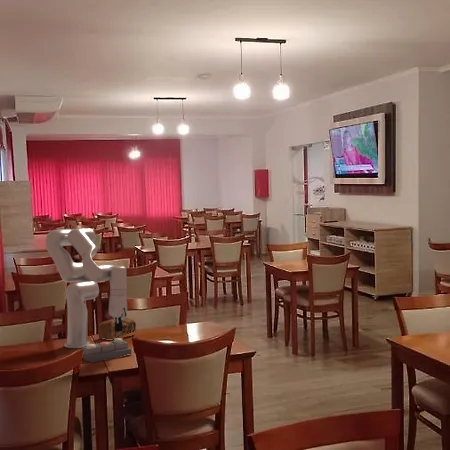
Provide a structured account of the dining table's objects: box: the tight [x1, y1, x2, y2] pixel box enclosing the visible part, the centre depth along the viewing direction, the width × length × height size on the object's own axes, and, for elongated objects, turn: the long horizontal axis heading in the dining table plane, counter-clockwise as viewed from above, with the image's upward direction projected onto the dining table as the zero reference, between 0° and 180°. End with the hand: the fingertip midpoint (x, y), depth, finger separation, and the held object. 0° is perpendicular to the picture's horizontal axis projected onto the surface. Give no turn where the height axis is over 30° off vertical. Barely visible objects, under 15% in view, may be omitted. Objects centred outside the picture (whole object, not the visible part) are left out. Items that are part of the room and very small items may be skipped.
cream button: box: [87, 343, 97, 348], centre depth 275 cm, size 4×4×3 cm
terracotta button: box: [100, 341, 110, 346], centre depth 280 cm, size 4×4×3 cm
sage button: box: [113, 338, 124, 344], centre depth 284 cm, size 4×4×3 cm
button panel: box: [80, 340, 132, 363], centre depth 280 cm, size 12×21×6 cm, turn 130°
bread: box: [97, 317, 137, 339], centre depth 319 cm, size 19×11×10 cm, turn 145°
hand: (118, 331), depth 284 cm, fingers closed
